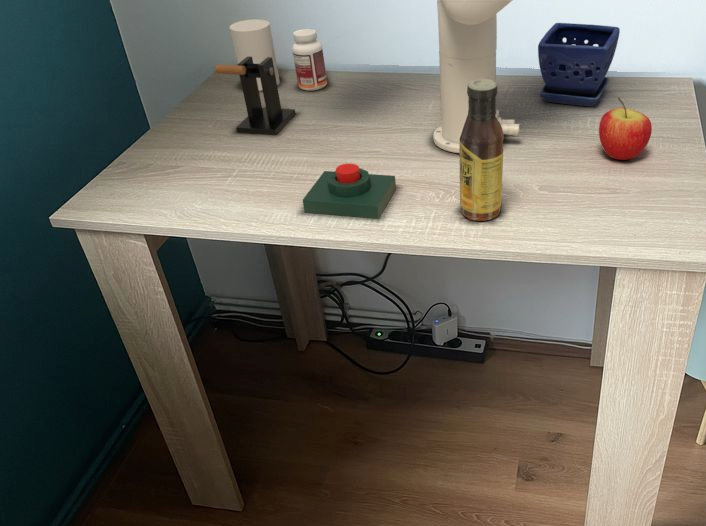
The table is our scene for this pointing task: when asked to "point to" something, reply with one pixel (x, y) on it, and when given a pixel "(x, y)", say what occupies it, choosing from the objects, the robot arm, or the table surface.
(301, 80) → the pill bottle
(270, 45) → the cup
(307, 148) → the table surface
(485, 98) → the sauce bottle
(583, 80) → the flower pot
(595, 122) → the table surface
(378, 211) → the control block
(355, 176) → the button
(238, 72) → the lever
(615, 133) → the apple
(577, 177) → the table surface
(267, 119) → the bracket
